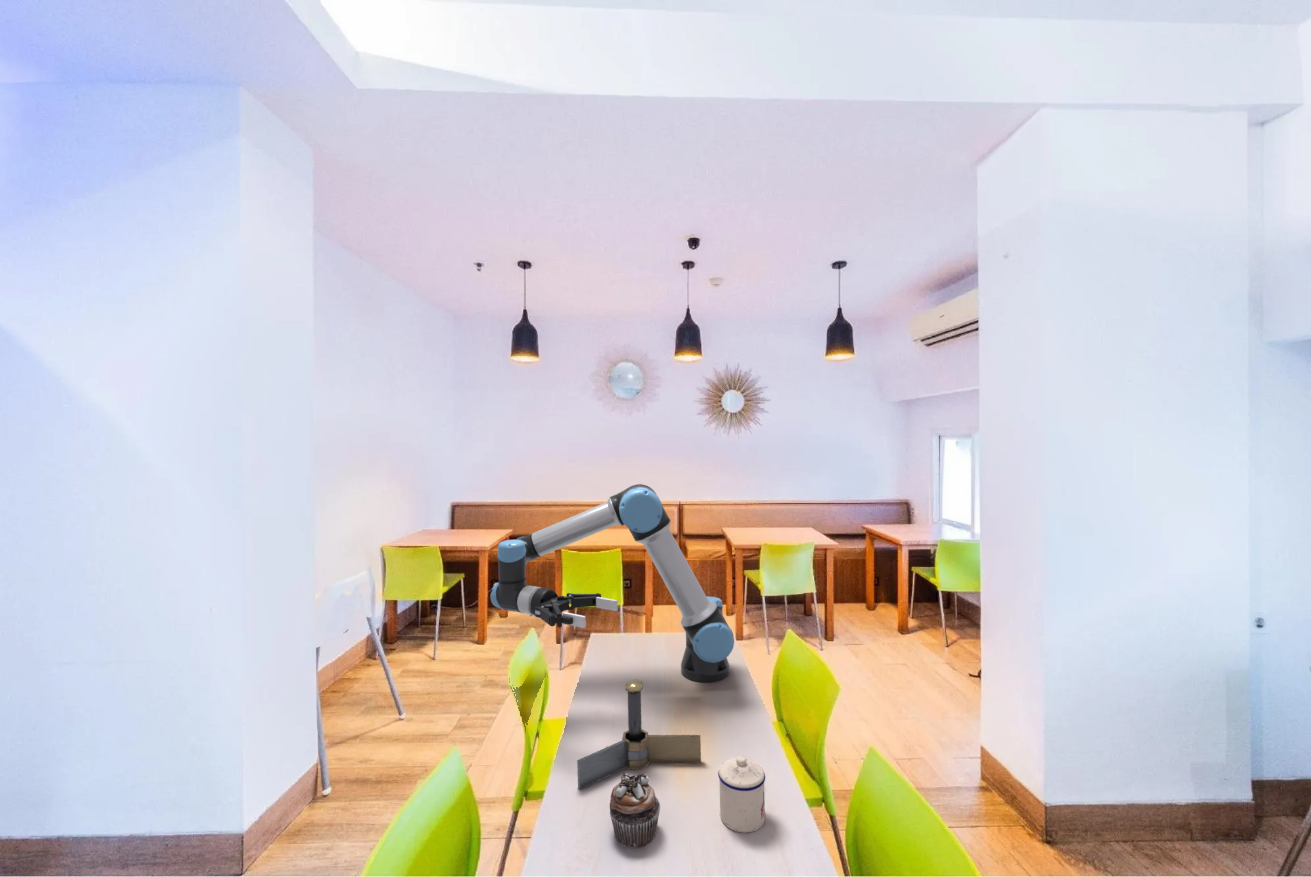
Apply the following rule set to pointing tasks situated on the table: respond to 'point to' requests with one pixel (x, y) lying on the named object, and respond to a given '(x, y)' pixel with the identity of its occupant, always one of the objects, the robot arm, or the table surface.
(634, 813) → the cupcake
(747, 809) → the teacup with lid
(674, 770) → the table surface
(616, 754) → the hinge leaf
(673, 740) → the tan flat knuckled part
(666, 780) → the table surface
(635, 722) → the hinge pin
